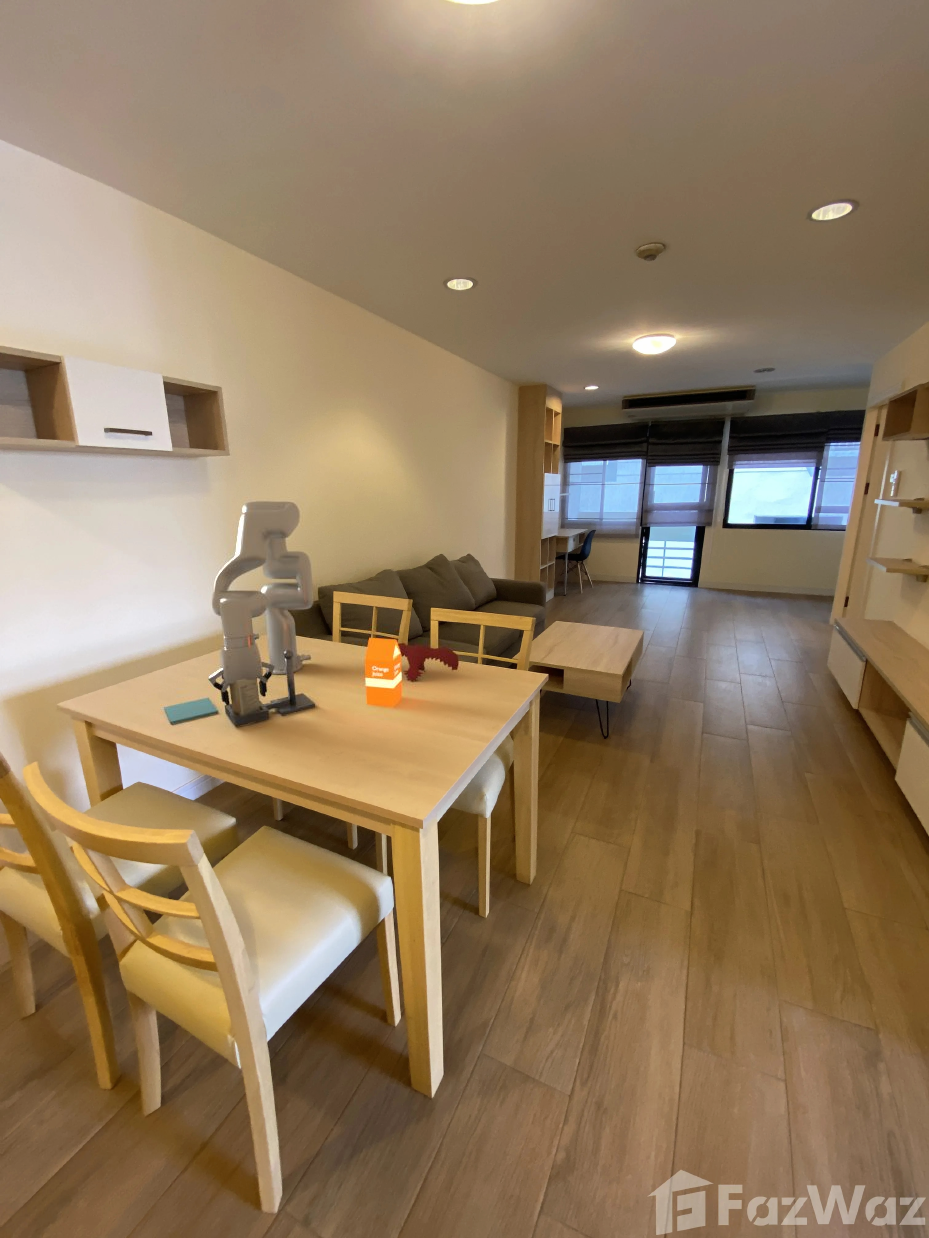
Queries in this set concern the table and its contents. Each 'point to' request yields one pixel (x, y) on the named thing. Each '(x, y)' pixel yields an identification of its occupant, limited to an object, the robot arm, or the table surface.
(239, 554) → the robot arm
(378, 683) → the orange juice
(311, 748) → the table surface
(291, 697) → the ring stand
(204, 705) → the teal mat
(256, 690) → the skincare box
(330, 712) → the table surface
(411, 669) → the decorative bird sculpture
